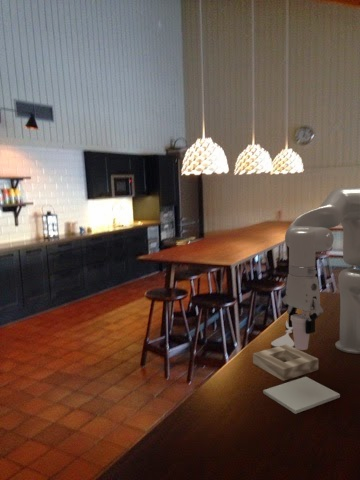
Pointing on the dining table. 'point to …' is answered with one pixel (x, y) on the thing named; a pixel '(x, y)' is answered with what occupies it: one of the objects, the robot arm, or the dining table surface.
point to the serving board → (301, 394)
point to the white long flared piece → (284, 338)
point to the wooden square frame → (294, 367)
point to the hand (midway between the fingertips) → (301, 329)
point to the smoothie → (300, 331)
